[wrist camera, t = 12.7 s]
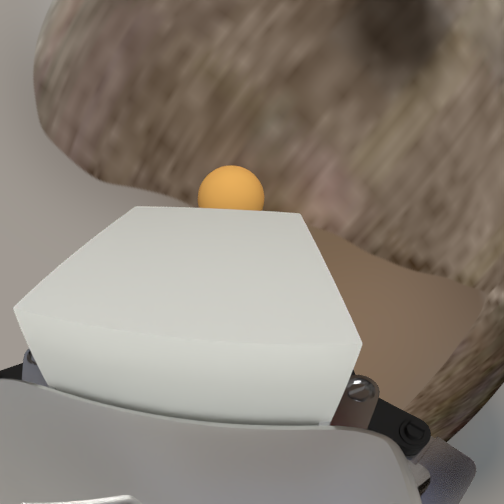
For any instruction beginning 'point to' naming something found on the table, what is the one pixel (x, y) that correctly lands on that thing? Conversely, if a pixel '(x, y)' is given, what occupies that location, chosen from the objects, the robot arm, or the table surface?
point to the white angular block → (196, 319)
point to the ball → (231, 190)
